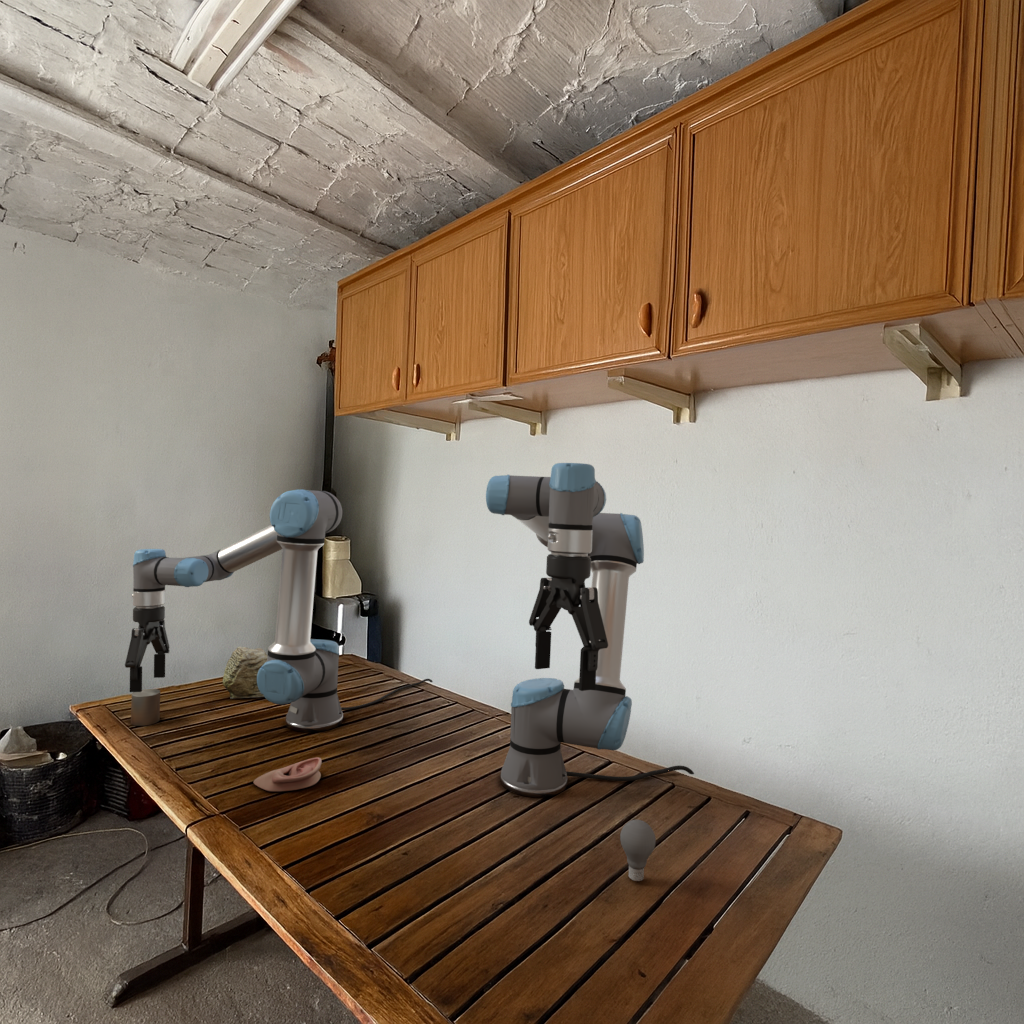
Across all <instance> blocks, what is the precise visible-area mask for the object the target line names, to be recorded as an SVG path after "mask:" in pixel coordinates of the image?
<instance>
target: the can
mask: <svg viewBox="0 0 1024 1024" xmlns="http://www.w3.org/2000/svg"><path fill="white" fill-rule="evenodd" d="M130 700H131V703H130V710H131V711H130V724H131V725H132V726H136V727H142V726H144V727H145V726H150V725H155V724H156V723H158V722H159V721H160V720H161V719H160V718H161V716H160V714H161V690H160V689H158V688H145V689H142V692H131V699H130Z"/></svg>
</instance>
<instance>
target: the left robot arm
mask: <svg viewBox="0 0 1024 1024" xmlns="http://www.w3.org/2000/svg"><path fill="white" fill-rule="evenodd" d="M270 507H271V508H270V510H269V521H270V524H269V525H267V526H265V527H263V528H261V529H259V530H257V531H254V532H253V533H251V534H249V535H247V536H244V537H242V538H241V539H238V540H236V541H235V542H232V543H230V544H228V545H226V546H224V547H222V548H220V549H218V550H216V551H214V552H212V553H209V554H204V555H196V556H185V557H168V556H167V554H166V550H165V549H163V548H139V549H137V550H136V551H135V552H134V554H133V562H132V563H133V564H132V573H133V575H132V576H133V589H132V591H133V593H132V594H131V597H132V605H133V608H132V621H133V622H134V623H138V628H135V627H133V628H132V629H131V634H130V635H131V637H130V641H129V645H128V650H127V654H126V658H125V662H124V667H125V668H126V669H129V693H133V692H142V690H143V665H142V662H143V659H144V656H145V653H146V650H147V648H148V646H149V645H150V644H151V645H152V648H153V649H154V652H155V653H154V654H153V679H154V678H155V679H160V678H161V679H163V678H166V654H169V653H170V643H169V639H168V634H167V631H166V624H165V623H166V622H165V621H166V620H165V618H166V607H165V606H164V605H165V604H166V586H174V587H184V588H190V587H192V588H193V587H201V586H203V584H204V583H207V582H214V581H221V580H225V579H228V578H230V577H231V576H233V574H234V573H235V572H237V571H239V570H241V569H243V568H246V567H248V566H250V565H252V564H253V563H256V562H259V561H260V560H262V559H264V558H266V557H268V556H271V555H273V554H275V553H277V552H279V551H281V561H280V575H279V585H278V586H279V587H278V599H277V611H276V612H277V613H276V625H275V636H274V637H275V638H274V641H273V642H272V643H271V644H270V645H269V646H268V647H267V662H265V663H264V664H263V666H262V667H261V668H260V669H259V671H258V674H257V685H258V688H259V690H260V692H261V694H263V695H264V696H265V697H264V698H265V699H266V700H267V701H268V702H270V703H272V704H275V705H281V706H282V705H284V706H285V705H287V704H289V708H288V711H287V713H286V715H285V726H286V728H287V729H289V730H291V731H294V732H295V731H296V732H301V733H316V732H325V731H329V730H332V729H335V728H337V727H339V726H340V725H342V723H343V722H344V713H343V711H351V710H356V709H362V708H364V707H368V706H371V705H374V704H376V703H378V702H381V701H383V700H384V699H386V698H388V697H389V696H391V695H393V694H394V693H397V692H399V691H401V690H405V689H407V688H411V687H416V686H418V685H421V684H423V683H426V682H429V683H433V682H434V681H433V680H432V679H430V678H425V679H422V680H421V681H418V682H415V683H411V684H407V685H404V686H400V687H399V688H396V689H394V690H392V691H390V692H388V693H386V694H384V695H383V696H381V697H379V698H377V699H375V700H373V701H370V702H367V703H363V704H360V705H354V706H341V702H340V699H339V695H338V682H339V662H340V661H339V660H340V652H339V651H340V650H339V648H340V646H339V643H338V642H337V641H335V640H330V639H316V638H311V637H312V623H313V612H314V610H313V609H314V599H315V598H314V597H315V587H316V575H317V574H316V573H317V562H318V551H319V549H320V548H321V547H323V546H324V545H325V539H326V534H329V533H330V532H332V531H334V530H335V529H336V528H338V526H339V525H340V523H341V521H342V518H343V508H342V503H341V502H340V500H339V499H338V498H337V497H336V496H335V495H334V494H333V493H331V492H328V491H326V490H313V489H312V490H311V489H302V488H301V489H293V490H287V491H285V492H283V493H281V494H280V495H279V496H277V497H276V498H275V500H274V501H273V502H272V504H271V506H270ZM141 665H142V666H141Z"/></svg>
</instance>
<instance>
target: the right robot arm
mask: <svg viewBox="0 0 1024 1024" xmlns="http://www.w3.org/2000/svg"><path fill="white" fill-rule="evenodd" d="M550 471H551V472H550V476H536V475H535V476H534V475H533V476H531V475H511V474H503V475H494V476H492V477H490V479H489V480H488V481H487V485H486V490H485V502H486V507H487V510H488V511H489V512H490V513H492V514H494V515H501V516H505V515H506V516H512V517H513V518H514V519H516V520H517V521H519V522H520V523H521V524H522V525H524V526H525V527H527V528H528V529H529V530H530V531H532V532H533V533H534V534H535V535H536V538H537V540H538V541H539V543H540V544H542V545H543V546H545V548H547V551H548V552H550V553H549V554H547V556H546V567H545V574H546V576H547V577H541V578H540V581H539V590H538V593H537V596H536V599H535V601H534V604H533V607H532V611H531V613H530V617H529V620H528V625H529V626H530V627H533V630H534V631H535V655H534V656H535V657H534V669H535V670H544V669H550V668H551V650H552V649H551V648H552V627H551V626H552V625H553V623H554V621H555V619H556V618H557V616H558V614H559V613H560V612H561V609H563V610H565V611H567V613H568V614H569V615H571V616H572V619H573V622H574V624H575V627H576V630H577V633H578V635H579V638H580V641H581V643H582V645H583V646H582V647H581V648H580V655H579V656H580V657H579V660H580V661H579V676H578V678H576V679H575V680H574V683H573V689H570V688H565V684H564V682H563V681H562V680H561V679H557V678H552V677H537V678H531V679H526V680H523V681H520V682H519V683H517V684H516V685H515V686H514V687H513V690H512V697H511V703H510V707H511V710H510V735H509V737H510V739H509V749H508V751H507V754H506V757H505V759H504V761H503V765H502V767H501V771H500V784H501V786H502V787H503V788H505V790H508V792H511V793H513V794H516V795H518V796H523V797H530V798H531V797H532V798H547V797H552V796H555V795H559V794H561V793H562V792H563V791H565V790H566V788H567V787H568V777H574V778H582V779H591V780H600V781H609V782H610V781H611V782H634V781H639V780H642V779H646V778H650V777H652V776H656V775H663V774H667V773H670V772H674V771H684V772H686V773H688V774H689V775H695V772H694V771H693V770H692V768H689V767H688V766H686V765H672V766H669V767H665V768H661V769H655V770H651V771H647V772H644V773H640V774H637V775H628V776H614V775H603V774H594V773H585V772H577V771H567V770H566V765H565V763H564V758H563V755H562V750H561V749H562V748H561V747H562V743H563V744H568V745H574V746H580V747H586V748H590V749H591V748H592V749H597V750H599V751H600V750H606V751H607V750H608V751H617V750H619V749H620V748H621V747H622V746H623V745H624V741H625V739H626V736H627V733H628V729H629V724H630V719H631V715H632V706H633V702H632V701H633V700H632V698H631V697H629V696H627V694H626V692H627V688H626V686H625V685H624V684H623V683H622V681H621V673H622V672H621V671H622V660H623V651H624V650H623V649H624V638H625V637H624V636H625V629H626V628H625V626H626V616H627V606H628V605H627V604H628V592H629V583H630V582H629V581H630V577H631V576H632V575H634V574H635V573H636V572H637V564H638V565H640V564H643V563H644V561H645V549H644V548H645V546H644V545H645V544H644V534H643V527H642V521H641V518H640V517H638V515H635V514H628V513H627V514H626V513H623V512H620V513H611V512H603V510H604V508H605V507H606V503H607V493H606V490H605V488H604V487H603V485H601V483H600V482H599V481H597V479H596V470H595V467H594V466H593V465H592V464H590V463H579V462H557V463H554V464H553V466H551V470H550ZM591 572H592V580H591V586H590V587H586V583H585V582H586V580H587V579H589V578H591ZM668 770H669V771H668Z"/></svg>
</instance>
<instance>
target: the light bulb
mask: <svg viewBox="0 0 1024 1024" xmlns="http://www.w3.org/2000/svg"><path fill="white" fill-rule="evenodd" d="M619 840H620V845H621V847H622V850H623V851H624V854H625V856H626V862H627V864H628V875H627V876H628V878H629V879H631V880H632V881H634V882H641V881H643V880H644V876H645V867H646V866H647V861H648V859H649V858H650V856H651V855H652V853H653V852H654V850H655V847H656V843H657V839H656V834H655V831H654V830H653V828H652V827H651V825H649V823H648V822H646V821H645V820H642V819H631V820H629V821H627V822H626V823H625V824H624V825H623V827H622V828H621V830H620V835H619Z"/></svg>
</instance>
